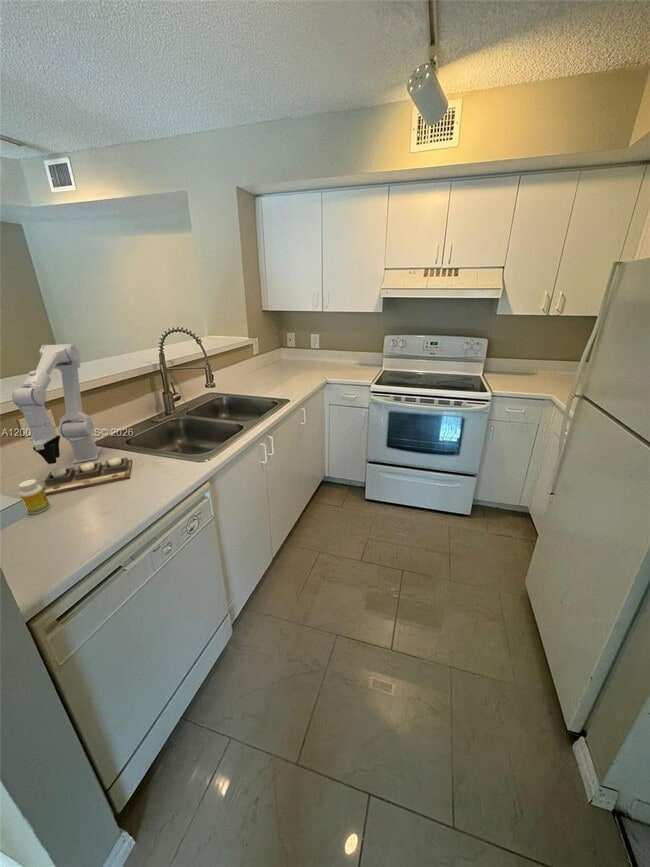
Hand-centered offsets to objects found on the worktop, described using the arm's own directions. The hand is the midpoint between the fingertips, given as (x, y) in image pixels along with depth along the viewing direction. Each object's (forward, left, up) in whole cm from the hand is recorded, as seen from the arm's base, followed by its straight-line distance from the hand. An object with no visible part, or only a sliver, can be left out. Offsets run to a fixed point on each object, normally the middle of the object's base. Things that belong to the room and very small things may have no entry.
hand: (54, 460), depth 113 cm
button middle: (0, +9, -6) cm, 11 cm away
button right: (0, +17, -6) cm, 18 cm away
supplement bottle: (+16, -3, -9) cm, 19 cm away
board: (+1, +8, -8) cm, 12 cm away
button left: (0, 0, -6) cm, 6 cm away
